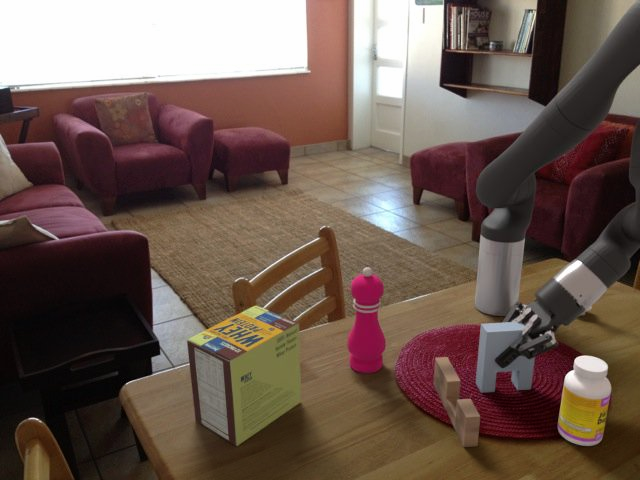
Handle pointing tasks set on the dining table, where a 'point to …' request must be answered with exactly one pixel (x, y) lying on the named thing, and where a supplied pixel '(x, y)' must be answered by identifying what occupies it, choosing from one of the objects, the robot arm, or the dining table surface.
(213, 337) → the protein box
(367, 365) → the pepper mill
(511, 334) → the pale blue notched block
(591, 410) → the supplement bottle
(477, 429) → the wooden notched block
